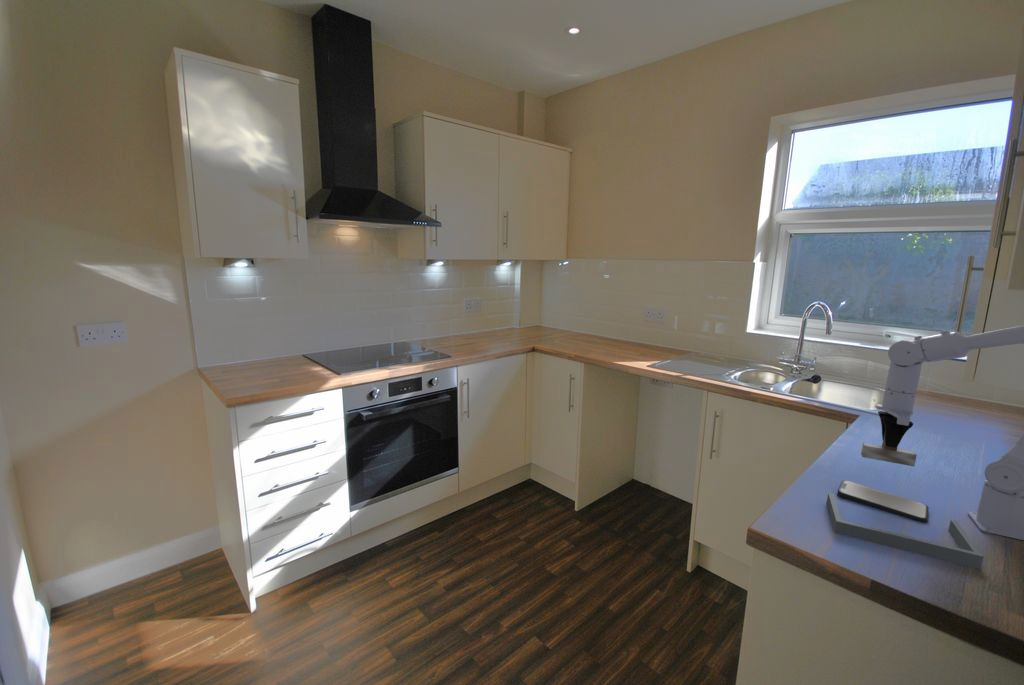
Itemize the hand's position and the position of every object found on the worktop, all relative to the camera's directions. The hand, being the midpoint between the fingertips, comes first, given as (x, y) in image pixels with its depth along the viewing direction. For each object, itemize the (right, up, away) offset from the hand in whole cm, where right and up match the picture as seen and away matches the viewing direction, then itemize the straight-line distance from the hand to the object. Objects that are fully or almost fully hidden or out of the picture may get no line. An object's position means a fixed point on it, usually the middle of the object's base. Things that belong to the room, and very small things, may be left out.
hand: (889, 444), depth 113 cm
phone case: (-7, -12, -6) cm, 16 cm away
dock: (-14, -14, -18) cm, 27 cm away
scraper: (0, -4, +1) cm, 4 cm away
